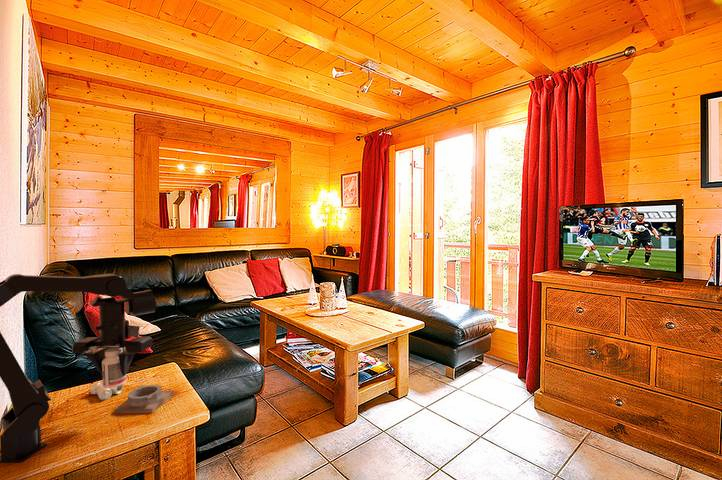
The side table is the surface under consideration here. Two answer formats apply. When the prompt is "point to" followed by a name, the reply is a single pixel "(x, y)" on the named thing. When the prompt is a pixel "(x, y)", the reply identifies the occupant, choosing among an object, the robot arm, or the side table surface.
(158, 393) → the collar base
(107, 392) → the pipe fitting
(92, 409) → the side table surface
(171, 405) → the side table surface
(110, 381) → the pill bottle
